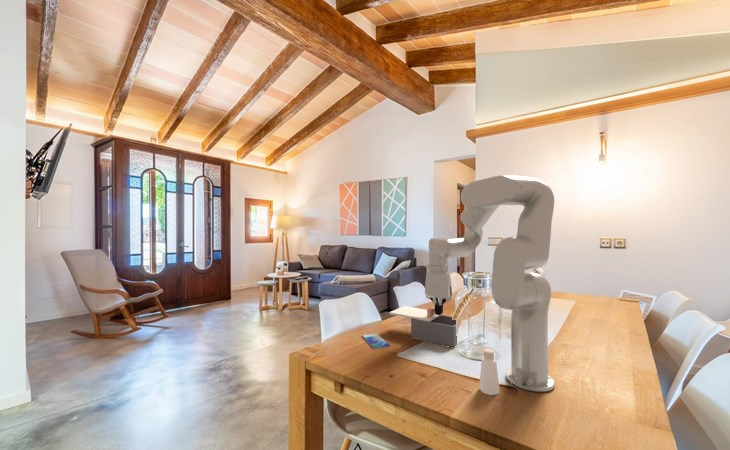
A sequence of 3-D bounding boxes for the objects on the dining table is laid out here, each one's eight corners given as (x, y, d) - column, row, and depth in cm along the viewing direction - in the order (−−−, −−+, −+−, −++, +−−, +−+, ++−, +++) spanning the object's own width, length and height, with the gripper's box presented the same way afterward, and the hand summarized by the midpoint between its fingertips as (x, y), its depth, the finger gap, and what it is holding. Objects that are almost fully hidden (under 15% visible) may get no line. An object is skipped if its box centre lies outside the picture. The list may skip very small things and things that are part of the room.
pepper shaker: (491, 397, 84) (491, 356, 84) (474, 388, 88) (474, 349, 88) (504, 391, 87) (503, 351, 87) (486, 383, 91) (486, 345, 91)
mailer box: (454, 348, 118) (454, 326, 118) (411, 338, 128) (411, 318, 128) (465, 338, 127) (465, 318, 127) (424, 330, 138) (424, 311, 138)
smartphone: (377, 333, 134) (391, 345, 120) (377, 335, 134) (391, 348, 120) (361, 334, 132) (373, 348, 117) (361, 336, 132) (373, 350, 117)
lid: (429, 321, 123) (429, 311, 123) (389, 314, 134) (389, 305, 134) (442, 314, 133) (442, 305, 133) (404, 307, 144) (404, 299, 144)
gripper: (417, 268, 129) (417, 313, 129) (452, 271, 120) (453, 319, 120) (425, 266, 135) (426, 309, 135) (460, 269, 126) (460, 315, 126)
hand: (438, 314), depth 128 cm, fingers closed
